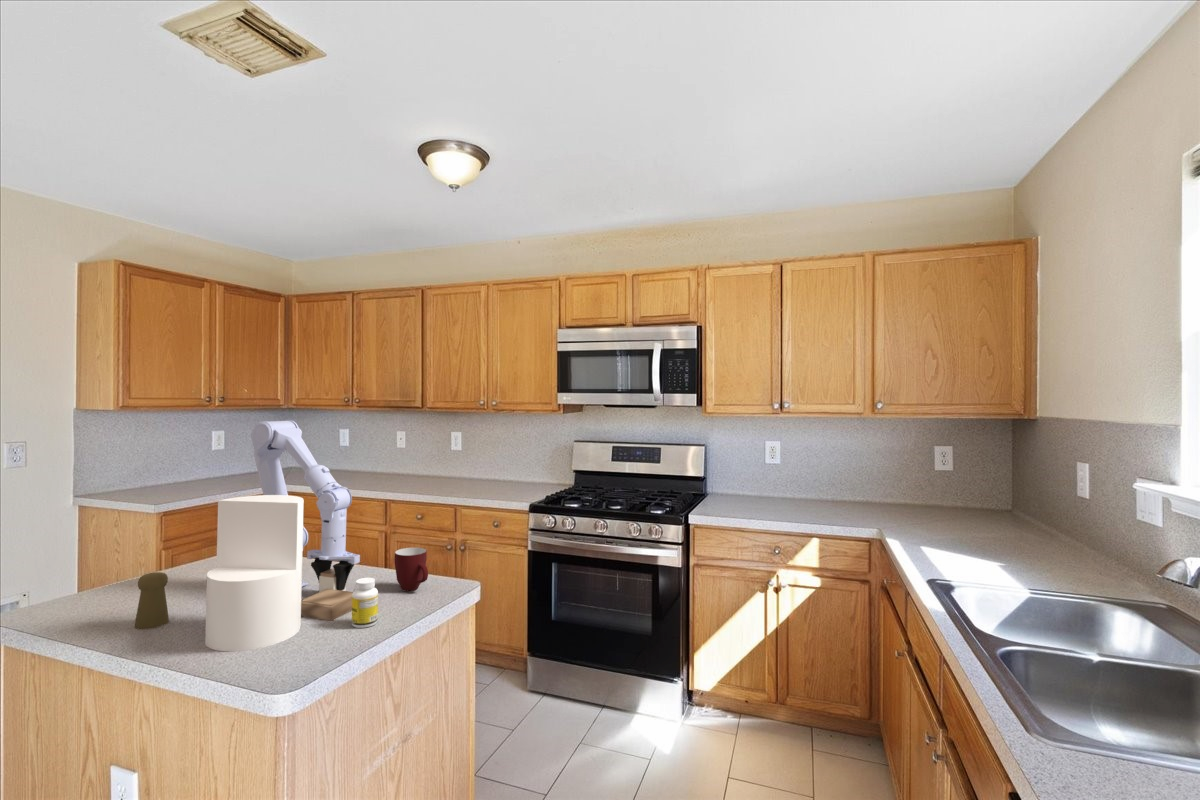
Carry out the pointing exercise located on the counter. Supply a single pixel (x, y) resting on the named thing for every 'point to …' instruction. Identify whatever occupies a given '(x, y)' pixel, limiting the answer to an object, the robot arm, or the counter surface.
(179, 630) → the counter surface
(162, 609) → the cork
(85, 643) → the counter surface
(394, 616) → the counter surface
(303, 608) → the tan square tray
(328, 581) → the beige rectangular block
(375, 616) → the supplement bottle
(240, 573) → the cream chair shape
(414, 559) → the mug
